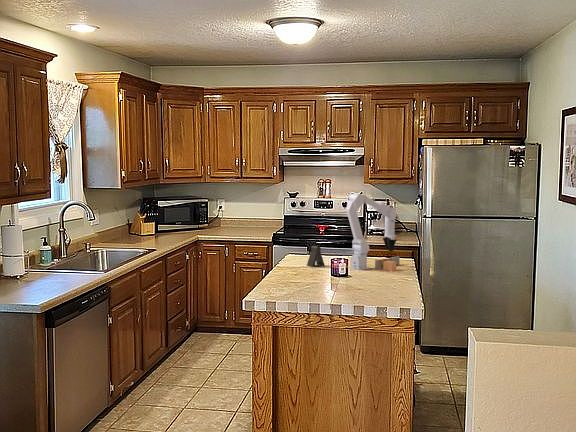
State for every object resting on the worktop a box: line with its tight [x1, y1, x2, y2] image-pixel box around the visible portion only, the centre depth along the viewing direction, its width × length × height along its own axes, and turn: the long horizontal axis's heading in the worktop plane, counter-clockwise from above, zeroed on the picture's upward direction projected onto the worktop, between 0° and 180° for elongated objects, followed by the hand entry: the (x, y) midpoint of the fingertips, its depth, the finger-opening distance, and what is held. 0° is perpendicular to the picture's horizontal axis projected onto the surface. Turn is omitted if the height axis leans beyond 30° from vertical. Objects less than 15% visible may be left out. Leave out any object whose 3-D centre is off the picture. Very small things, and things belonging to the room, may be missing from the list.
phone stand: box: [306, 245, 326, 268], centre depth 372 cm, size 9×6×12 cm, turn 120°
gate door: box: [378, 257, 392, 268], centre depth 371 cm, size 14×1×4 cm, turn 135°
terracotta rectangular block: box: [383, 261, 397, 272], centre depth 359 cm, size 4×6×5 cm, turn 45°
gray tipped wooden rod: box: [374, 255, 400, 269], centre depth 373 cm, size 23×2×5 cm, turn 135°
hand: (389, 250), depth 372 cm, fingers open, 7 cm apart
